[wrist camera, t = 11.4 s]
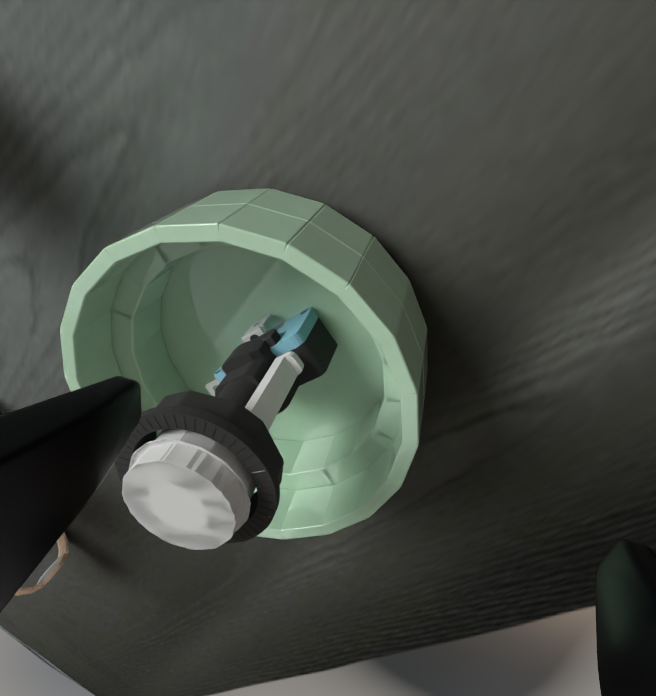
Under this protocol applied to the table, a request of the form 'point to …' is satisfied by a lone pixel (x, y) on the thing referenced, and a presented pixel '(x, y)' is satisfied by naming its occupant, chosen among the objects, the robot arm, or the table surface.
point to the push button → (222, 440)
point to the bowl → (248, 307)
